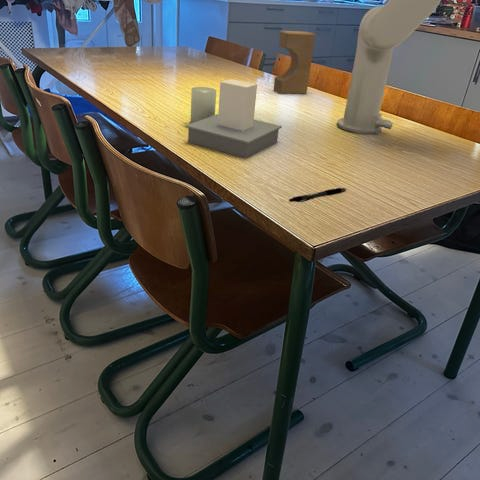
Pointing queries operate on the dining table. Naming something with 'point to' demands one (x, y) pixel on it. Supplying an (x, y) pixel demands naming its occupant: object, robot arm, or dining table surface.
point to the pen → (317, 194)
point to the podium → (233, 136)
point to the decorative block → (296, 62)
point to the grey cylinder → (202, 103)
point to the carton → (237, 104)
